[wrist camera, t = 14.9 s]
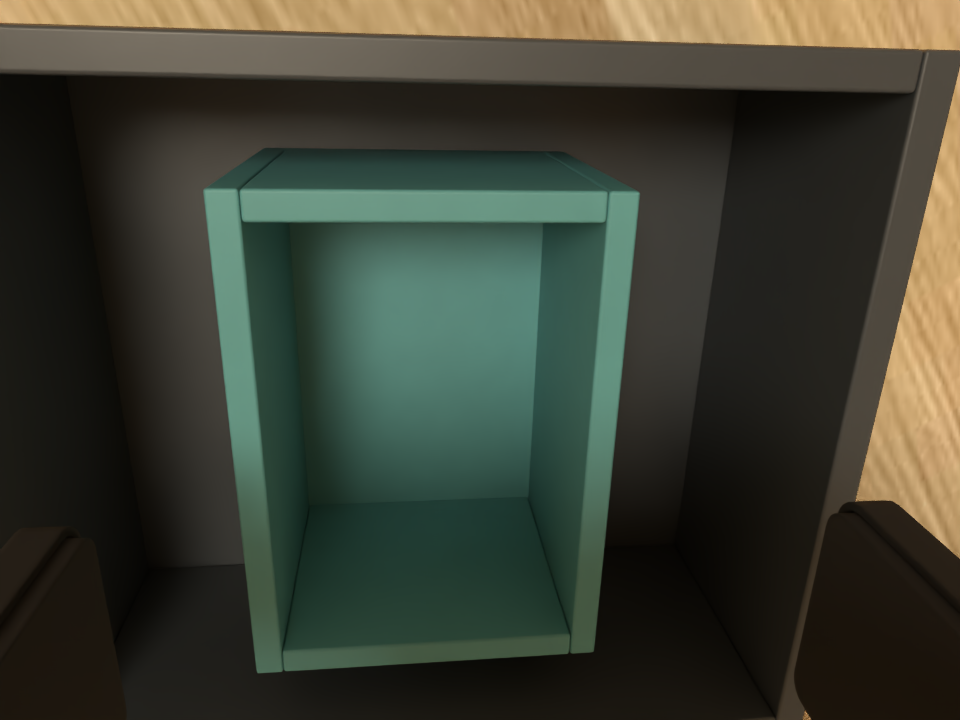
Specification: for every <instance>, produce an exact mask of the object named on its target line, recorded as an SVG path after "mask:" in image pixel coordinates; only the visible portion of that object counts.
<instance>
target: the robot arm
mask: <svg viewBox="0 0 960 720" xmlns="http://www.w3.org/2000/svg"><path fill="white" fill-rule="evenodd" d="M794 684H795V689H796V692H797V695H798V698H799V700H800V702H801V704H802V705H803V707H804V708H805V710H806V712H807V713H808V715H809V716H810V718H811V720H960V559H959V558H958V557H957V556H956V555H955V554H953V553H952V552H951V551H950V550H949V549H948V548H947V547H946V546H944V545H943V544H942V543H941V542H940V541H939V540H938V539H936V538H935V537H934V536H933V535H932V534H931V533H930V532H929V531H927V530H926V529H925V528H924V527H923V526H922V525H921V524H919V523H918V522H917V521H916V520H915V519H914V518H913V517H912V516H910V515H909V514H908V513H907V512H906V511H905V510H904V509H902V508H901V507H900V506H899V505H898V504H896V503H894V502H893V501H856V502H847V503H845V504H843V505H842V506H841V507H840V509H839V511H838V513H834V514H832V515H831V516H830V517H829V518H828V521H827V524H826V528H825V533H824V537H823V542H822V546H821V551H820V556H819V560H818V565H817V569H816V574H815V578H814V583H813V587H812V592H811V597H810V601H809V606H808V610H807V615H806V619H805V624H804V629H803V633H802V638H801V642H800V647H799V651H798V656H797V661H796V665H795V670H794ZM126 719H127V710H126V702H125V697H124V692H123V687H122V681H121V676H120V671H119V666H118V660H117V655H116V650H115V645H114V640H113V634H112V629H111V624H110V619H109V613H108V608H107V603H106V598H105V592H104V587H103V582H102V577H101V571H100V566H99V561H98V556H97V550H96V547H95V543H94V542H93V540H92V539H90V538H81V536H80V533H79V532H78V530H77V529H76V528H74V527H72V526H64V527H32V528H22V529H19V530H18V531H17V532H16V533H14V534H13V536H12V537H11V538H10V539H9V540H8V541H7V543H6V544H5V545H4V546H3V547H2V549H1V550H0V720H126Z"/></svg>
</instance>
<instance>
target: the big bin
mask: <svg viewBox="0 0 960 720" xmlns="http://www.w3.org/2000/svg"><path fill="white" fill-rule="evenodd" d="M959 68H960V51H959V50H919V49H889V48H854V47H819V46H784V45H750V44H715V43H680V42H645V41H610V40H575V39H540V38H505V37H471V36H436V35H401V34H366V33H331V32H296V31H261V30H226V29H191V28H157V27H122V26H87V25H52V24H17V23H0V550H1V549H2V547H3V546H4V545H5V544H6V543H7V541H8V540H9V539H10V538H11V537H12V536H13V534H14V533H16V532H17V531H18V530H19V529H22V528H32V527H64V526H72V527H74V528H76V529H77V530H78V532H79V533H80V536H81V538H90V539H92V540H93V542H94V543H95V547H96V550H97V556H98V561H99V566H100V571H101V577H102V582H103V587H104V592H105V598H106V603H107V608H108V613H109V619H110V624H111V629H112V634H113V640H114V645H115V650H116V655H117V660H118V666H119V671H120V676H121V681H122V687H123V692H124V697H125V702H126V710H127V719H126V720H803V716H804V712H805V708H804V707H803V705H802V704H801V702H800V700H799V698H798V695H797V692H796V689H795V684H794V670H795V665H796V661H797V656H798V651H799V647H800V642H801V638H802V633H803V629H804V624H805V619H806V615H807V610H808V606H809V601H810V597H811V592H812V587H813V583H814V578H815V574H816V569H817V565H818V560H819V556H820V551H821V546H822V542H823V537H824V533H825V528H826V524H827V521H828V518H829V517H830V516H831V515H832V514H834V513H838V511H839V509H840V507H841V506H842V505H843V504H845V503H847V502H855V500H856V496H857V491H858V487H859V483H860V479H861V475H862V471H863V467H864V462H865V458H866V454H867V450H868V446H869V442H870V437H871V433H872V429H873V425H874V421H875V417H876V413H877V408H878V404H879V400H880V396H881V392H882V388H883V384H884V379H885V375H886V371H887V367H888V363H889V359H890V354H891V350H892V346H893V342H894V338H895V334H896V330H897V325H898V321H899V317H900V313H901V309H902V305H903V300H904V296H905V292H906V288H907V284H908V280H909V276H910V271H911V267H912V263H913V259H914V255H915V251H916V246H917V242H918V238H919V234H920V230H921V226H922V222H923V217H924V213H925V209H926V205H927V201H928V197H929V192H930V188H931V184H932V180H933V176H934V172H935V168H936V163H937V159H938V155H939V151H940V147H941V143H942V138H943V134H944V130H945V126H946V122H947V118H948V114H949V109H950V105H951V101H952V97H953V93H954V89H955V85H956V80H957V76H958V72H959ZM263 148H319V149H400V150H480V151H561V152H565V153H567V154H569V155H571V156H573V157H574V158H576V159H578V160H580V161H582V162H584V163H586V164H588V165H589V166H591V167H593V168H595V169H597V170H599V171H601V172H603V173H605V174H606V175H608V176H610V177H612V178H614V179H616V180H618V181H620V182H621V183H623V184H625V185H627V186H629V187H631V188H633V189H635V190H637V191H638V192H639V193H640V200H639V210H638V219H637V229H636V239H635V249H634V259H633V269H632V279H631V289H630V299H629V309H628V319H627V328H626V338H625V348H624V358H623V368H622V378H621V388H620V398H619V408H618V418H617V428H616V438H615V447H614V457H613V467H612V477H611V487H610V497H609V507H608V517H607V527H606V537H605V547H604V557H603V566H602V576H601V586H600V596H599V606H598V616H597V626H596V636H595V646H594V651H593V652H590V653H574V654H573V653H570V651H569V653H568V654H558V655H542V656H526V657H510V658H494V659H477V660H461V661H445V662H429V663H413V664H397V665H381V666H365V667H349V668H333V669H317V670H300V671H285V670H284V669H283V671H282V672H272V673H257V671H256V662H255V653H254V644H253V635H252V626H251V617H250V608H249V599H248V590H247V581H246V572H245V563H244V554H243V545H242V536H241V527H240V518H239V509H238V500H237V491H236V482H235V473H234V464H233V455H232V446H231V437H230V428H229V419H228V410H227V401H226V392H225V383H224V374H223V365H222V356H221V347H220V338H219V329H218V320H217V311H216V302H215V293H214V284H213V275H212V266H211V257H210V248H209V239H208V230H207V221H206V212H205V203H204V194H203V191H204V189H205V188H206V187H208V186H209V185H211V184H212V183H214V182H215V181H216V180H218V179H219V178H221V177H222V176H224V175H225V174H227V173H228V172H230V171H231V170H233V169H234V168H236V167H237V166H238V165H240V164H241V163H243V162H244V161H246V160H247V159H249V158H250V157H252V156H253V155H255V154H256V153H257V152H259V151H260V150H262V149H263Z"/></svg>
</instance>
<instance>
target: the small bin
mask: <svg viewBox="0 0 960 720" xmlns="http://www.w3.org/2000/svg"><path fill="white" fill-rule="evenodd" d="M203 194H204V203H205V212H206V221H207V230H208V239H209V248H210V257H211V266H212V275H213V284H214V293H215V302H216V311H217V320H218V329H219V338H220V347H221V356H222V365H223V374H224V383H225V392H226V401H227V410H228V419H229V428H230V437H231V446H232V455H233V464H234V473H235V482H236V491H237V500H238V509H239V518H240V527H241V536H242V545H243V554H244V563H245V572H246V581H247V590H248V599H249V608H250V617H251V626H252V635H253V644H254V653H255V662H256V671H257V673H272V672H282V671H283V669H284V670H285V671H300V670H317V669H333V668H349V667H365V666H381V665H397V664H413V663H429V662H445V661H461V660H477V659H494V658H510V657H526V656H542V655H558V654H568V653H569V651H570V653H573V654H574V653H590V652H593V651H594V646H595V636H596V626H597V616H598V606H599V596H600V586H601V576H602V566H603V557H604V547H605V537H606V527H607V517H608V507H609V497H610V487H611V477H612V467H613V457H614V447H615V438H616V428H617V418H618V408H619V398H620V388H621V378H622V368H623V358H624V348H625V338H626V328H627V319H628V309H629V299H630V289H631V279H632V269H633V259H634V249H635V239H636V229H637V219H638V210H639V200H640V193H639V192H638V191H637V190H635V189H633V188H631V187H629V186H627V185H625V184H623V183H621V182H620V181H618V180H616V179H614V178H612V177H610V176H608V175H606V174H605V173H603V172H601V171H599V170H597V169H595V168H593V167H591V166H589V165H588V164H586V163H584V162H582V161H580V160H578V159H576V158H574V157H573V156H571V155H569V154H567V153H565V152H561V151H480V150H400V149H319V148H263V149H262V150H260V151H259V152H257V153H256V154H255V155H253V156H252V157H250V158H249V159H247V160H246V161H244V162H243V163H241V164H240V165H238V166H237V167H236V168H234V169H233V170H231V171H230V172H228V173H227V174H225V175H224V176H222V177H221V178H219V179H218V180H216V181H215V182H214V183H212V184H211V185H209V186H208V187H206V188H205V189H204V191H203Z"/></svg>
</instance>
